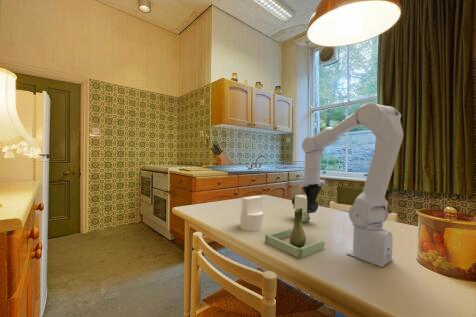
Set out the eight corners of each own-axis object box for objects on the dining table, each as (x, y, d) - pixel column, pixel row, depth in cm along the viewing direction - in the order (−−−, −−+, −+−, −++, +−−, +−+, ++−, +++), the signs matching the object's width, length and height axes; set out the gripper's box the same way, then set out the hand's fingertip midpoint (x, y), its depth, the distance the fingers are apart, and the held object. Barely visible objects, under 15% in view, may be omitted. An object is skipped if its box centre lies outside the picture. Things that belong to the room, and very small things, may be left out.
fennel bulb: (298, 241, 75) (299, 206, 75) (309, 246, 71) (311, 209, 71) (285, 244, 72) (286, 207, 72) (297, 250, 68) (298, 211, 68)
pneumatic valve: (310, 225, 93) (311, 196, 92) (290, 217, 103) (291, 192, 103) (319, 223, 95) (320, 196, 95) (299, 216, 105) (300, 191, 105)
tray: (323, 248, 69) (324, 241, 69) (299, 258, 62) (300, 250, 62) (289, 234, 81) (289, 228, 81) (265, 242, 73) (265, 234, 73)
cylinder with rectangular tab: (251, 232, 82) (252, 200, 82) (235, 226, 89) (236, 196, 88) (267, 228, 88) (268, 197, 88) (251, 222, 95) (252, 194, 94)
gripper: (314, 168, 92) (313, 200, 92) (291, 168, 83) (290, 204, 84) (330, 169, 86) (329, 203, 87) (307, 170, 78) (306, 208, 78)
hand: (311, 204), depth 85 cm, fingers closed
